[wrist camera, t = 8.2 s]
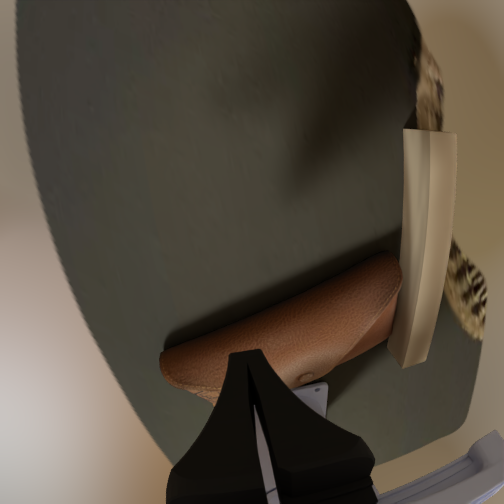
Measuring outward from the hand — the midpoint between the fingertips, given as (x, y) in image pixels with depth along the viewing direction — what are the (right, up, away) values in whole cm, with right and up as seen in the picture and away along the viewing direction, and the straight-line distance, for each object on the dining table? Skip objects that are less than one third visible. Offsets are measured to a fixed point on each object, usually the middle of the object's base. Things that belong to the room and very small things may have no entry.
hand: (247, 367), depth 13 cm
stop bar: (+12, +5, +9) cm, 16 cm away
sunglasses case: (+3, -1, +11) cm, 11 cm away
